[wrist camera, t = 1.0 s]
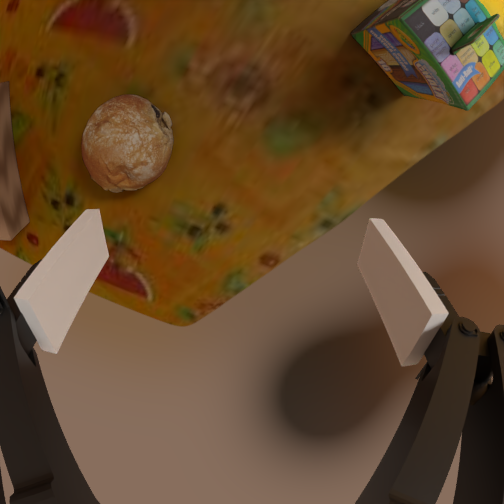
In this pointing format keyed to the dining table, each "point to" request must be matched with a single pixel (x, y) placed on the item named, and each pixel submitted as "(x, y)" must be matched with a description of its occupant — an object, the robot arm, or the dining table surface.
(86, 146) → the bread roll
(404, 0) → the chalk box
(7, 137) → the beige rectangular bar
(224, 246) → the dining table surface
